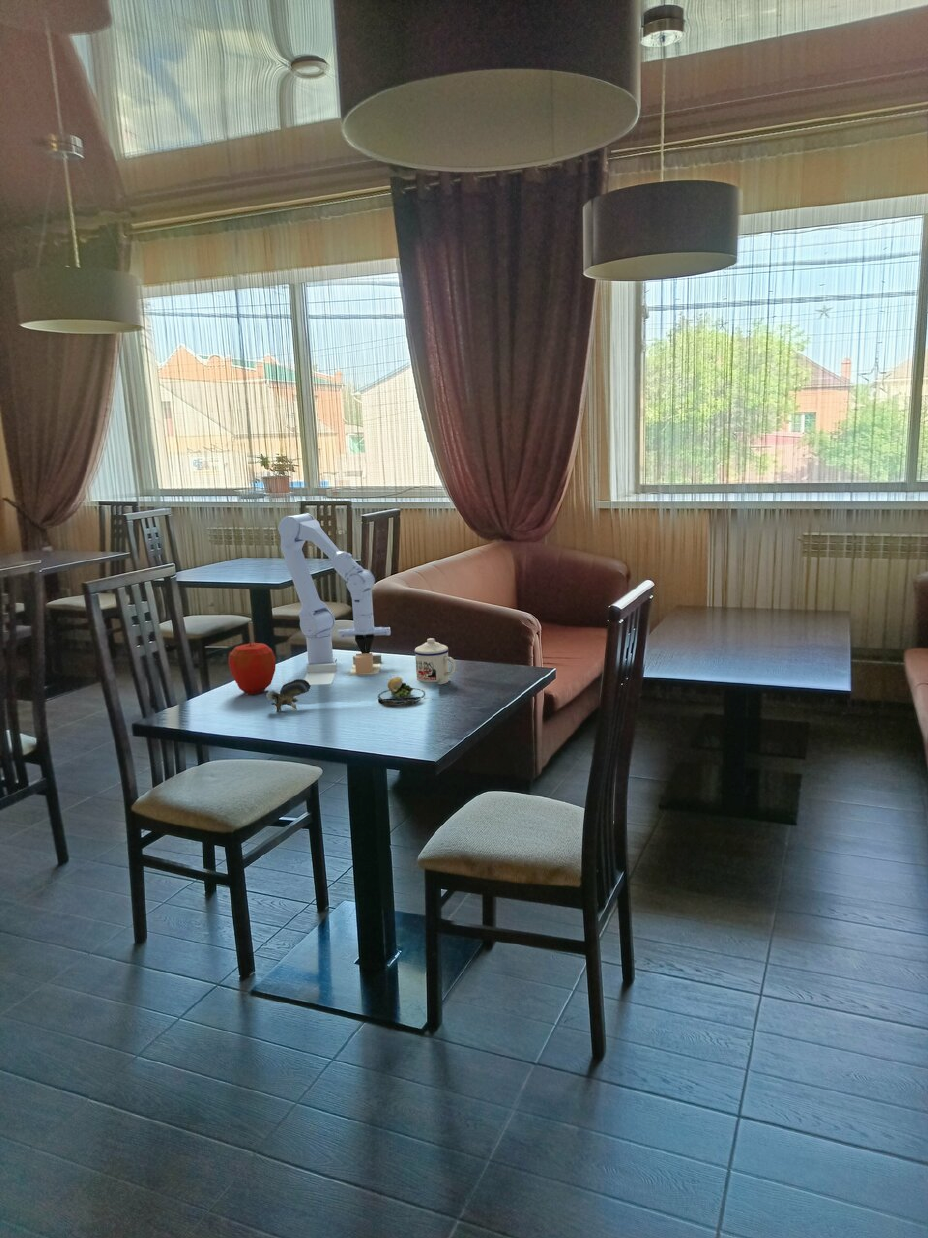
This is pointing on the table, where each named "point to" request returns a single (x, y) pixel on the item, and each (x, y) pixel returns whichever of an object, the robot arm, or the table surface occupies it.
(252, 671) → the apple
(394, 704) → the burger
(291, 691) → the grey-brown animal figure
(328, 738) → the table surface
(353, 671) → the beige lipped tray
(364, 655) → the block
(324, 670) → the grey strip
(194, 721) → the table surface
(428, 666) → the teacup with lid
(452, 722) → the table surface
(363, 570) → the robot arm
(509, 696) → the table surface
